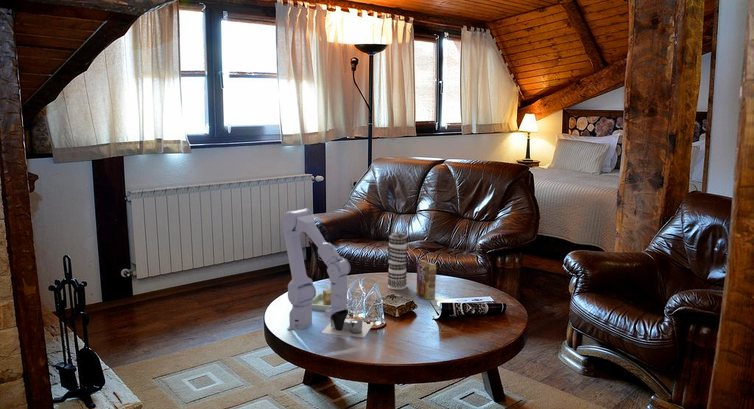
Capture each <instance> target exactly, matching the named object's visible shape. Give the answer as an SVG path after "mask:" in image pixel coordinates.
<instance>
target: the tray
mask: <svg viewBox="0 0 754 409" xmlns="http://www.w3.org/2000/svg"><path fill="white" fill-rule="evenodd" d="M328 308H329V305H323V293H316V296H315V298H314V299H313V302H312V311H324V312H325V311H326V310H327V309H328Z"/></svg>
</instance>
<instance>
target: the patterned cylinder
mask: <svg viewBox="0 0 754 409" xmlns="http://www.w3.org/2000/svg"><path fill="white" fill-rule="evenodd" d="M388 238H389V240H388V241H389V242H388V244H387V259H388V261H387V262H388V265H389V266H388V271H387V274H388V275H387V277H388V278H387V288H388V289H390V290H391V289H392V290H398V291H400V290H405V289H406V288H407V284H408V283H407V281H408V279H407V274H408V273H407V267H406V266H407V263H408V260H407V259H408V257H407V255H408V254H409V253H408V252H407V251H409V250H408V248H407V235H406V234H405V233H404V232H400V231H394V232H392V233H391V234H390V235H388Z"/></svg>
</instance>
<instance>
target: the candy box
mask: <svg viewBox="0 0 754 409" xmlns="http://www.w3.org/2000/svg"><path fill="white" fill-rule="evenodd" d="M416 263H417V264H416V293H415V294H416V295H417V296H419V297H420V298H423V299H425V300H428V301H429V300H430V301H431V300H434V299H436V283H437V282H436V281H437V278H436V277H437V276H436V275H437V264H436V263H433V262H431V261H428V260H426V259H421V260H417V261H416Z"/></svg>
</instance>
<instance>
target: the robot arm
mask: <svg viewBox="0 0 754 409" xmlns="http://www.w3.org/2000/svg"><path fill="white" fill-rule="evenodd" d="M281 222H282V227H283V236H284V243H285V247H286V252H287V258H288V262H289V268H290V269H289V270H290V274H291V280H290V282H289V283H288V284H287V299H288V301H289V303H290V305H292V308H291V310H290V312H289V315H288V316H289V320H288V321H289V326H287V328H286V329H287V330H288V331H289V330H292V331H293V330H294V329H298V330H299V329H300V330H306V329H307V328H308V327H309V326H311V325H312V324H313V310H312V302H313V299H314V298H315V296H316V295H317V290H316V287H315V285H314V282H313V279H312V278H310V277H309V276H308V275H307V269H306V265H305V260H304V254H303V249H302V245H301V238H300V235H301V233H303V232H304V233H305V234H307V236H308V237H309V239H310V240H312V242H313V243H314V245H316V247H317V254H318V256H319V257H320V258H321V260H322V261H323V262H324V264H325V265H326V266H327V267H326V272H327V275H328V277H329V282H330V289H331V305H330V306H329V308H328V309H327V310H326V311H324V316H325V317H327V318H330V317H332V319H333V322H334V325H335V329H336V330H338V331H341V330H342V329H343V325H344V321H345V318H346V319H347V316H348V315H349V309H350V306H352V305H353V300H352V299H350V300H349V299H347V296H348V274H349V273H350V272H351V264H350V262H349V260H348V259H347V258H344V257H343V256H341V255H340V254H339V253H338V251H337V250H336V249H335V247H334V245H333V244H332V243H331V242H327V241H326V240H325V238H324V236H323V234H322V233H321V231H320V229H319V228H318V227H317V225H316V223H315V216H314V215H313V213H312V211H311V210H310V209H309V208H306V207H305V208H303V209H298V210H292V211H286V212H285V213H284V215H283V216H282V218H281Z"/></svg>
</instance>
